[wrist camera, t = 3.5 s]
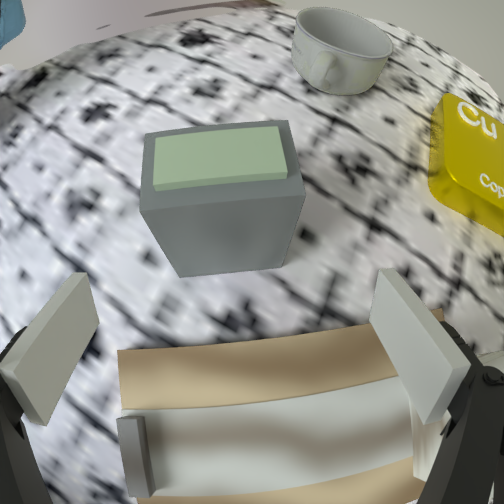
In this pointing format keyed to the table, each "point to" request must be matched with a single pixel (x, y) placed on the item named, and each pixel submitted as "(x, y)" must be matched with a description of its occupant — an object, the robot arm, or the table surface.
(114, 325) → the table surface
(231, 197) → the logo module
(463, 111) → the element tile
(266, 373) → the rail plate
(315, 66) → the teacup
